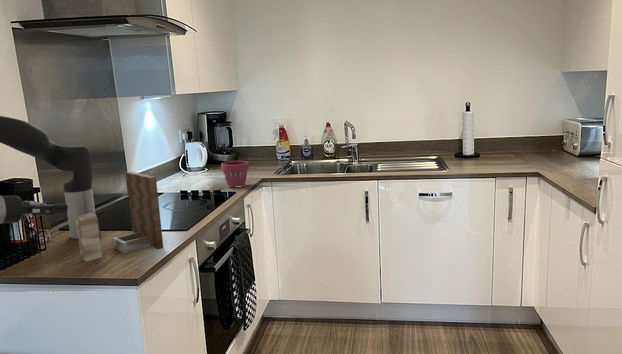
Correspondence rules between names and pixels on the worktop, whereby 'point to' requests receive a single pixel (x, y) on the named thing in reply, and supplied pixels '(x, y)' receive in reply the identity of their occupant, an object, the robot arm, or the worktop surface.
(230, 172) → the plant pot
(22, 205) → the robot arm
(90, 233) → the ridged beige block
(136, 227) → the upright wooden board
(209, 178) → the worktop surface
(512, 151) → the worktop surface
